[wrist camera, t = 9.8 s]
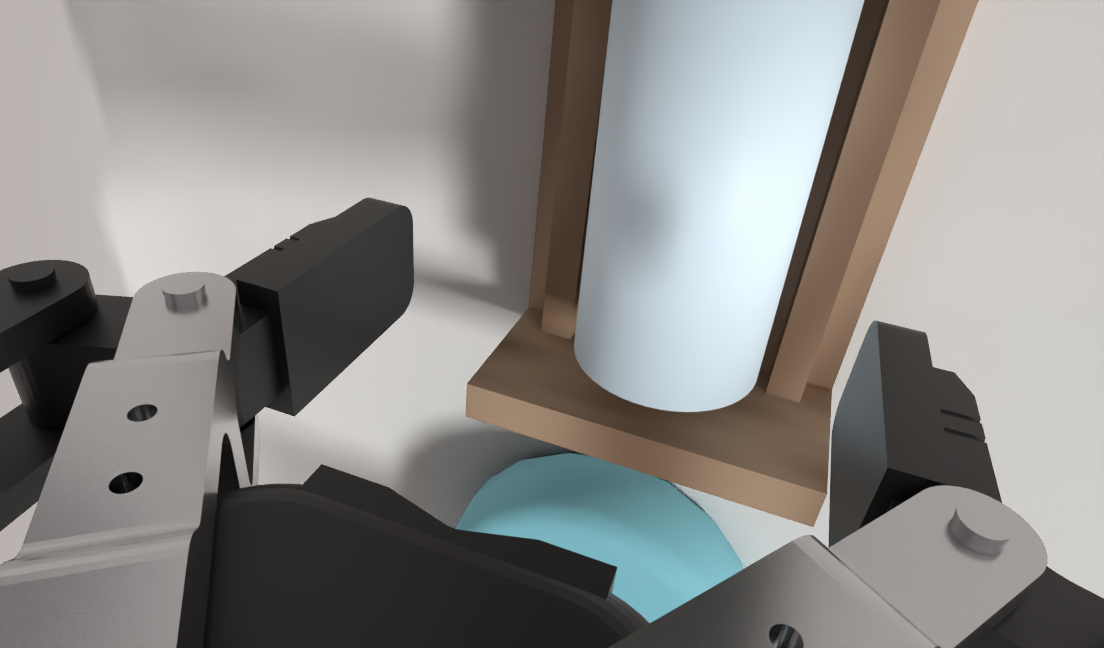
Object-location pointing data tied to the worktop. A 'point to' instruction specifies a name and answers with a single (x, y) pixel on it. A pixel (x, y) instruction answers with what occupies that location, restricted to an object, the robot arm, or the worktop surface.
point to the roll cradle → (807, 296)
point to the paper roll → (702, 189)
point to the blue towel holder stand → (610, 526)
